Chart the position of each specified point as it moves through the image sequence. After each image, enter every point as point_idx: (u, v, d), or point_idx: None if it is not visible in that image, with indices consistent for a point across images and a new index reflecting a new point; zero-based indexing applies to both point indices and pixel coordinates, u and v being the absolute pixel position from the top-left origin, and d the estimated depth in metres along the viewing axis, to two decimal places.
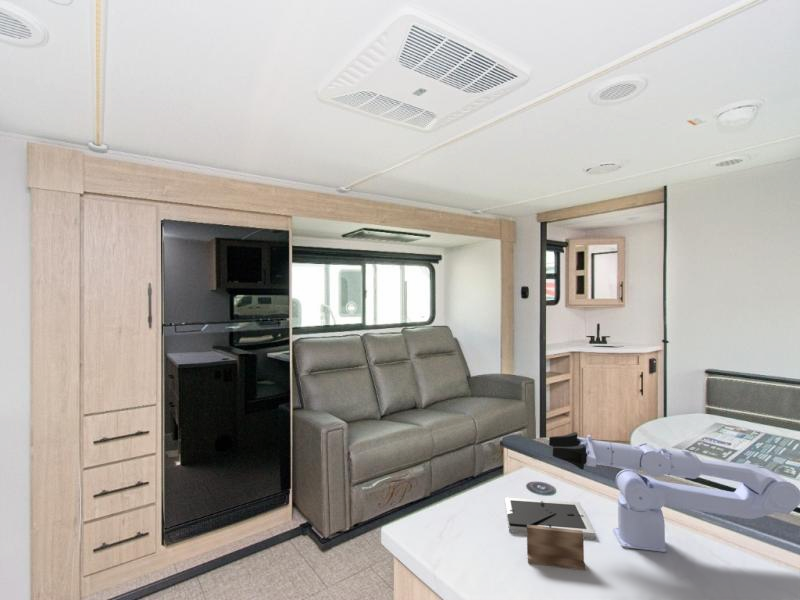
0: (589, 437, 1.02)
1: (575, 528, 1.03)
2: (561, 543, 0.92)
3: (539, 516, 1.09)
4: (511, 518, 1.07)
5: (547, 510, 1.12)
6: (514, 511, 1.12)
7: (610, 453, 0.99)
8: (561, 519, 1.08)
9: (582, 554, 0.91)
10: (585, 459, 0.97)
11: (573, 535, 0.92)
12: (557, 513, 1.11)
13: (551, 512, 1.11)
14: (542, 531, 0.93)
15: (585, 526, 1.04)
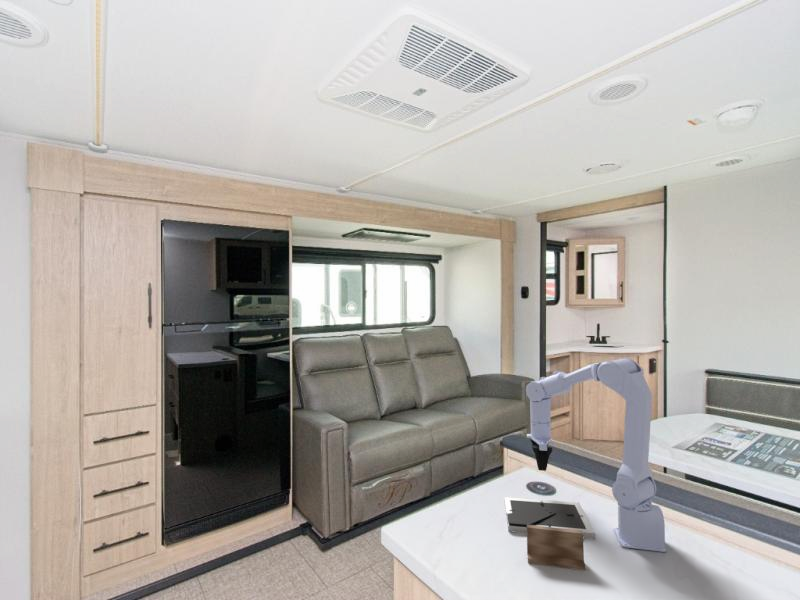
0: (527, 437, 1.23)
1: (575, 528, 1.03)
2: (561, 543, 0.92)
3: (539, 515, 1.09)
4: (511, 518, 1.07)
5: (547, 510, 1.12)
6: (514, 511, 1.12)
7: (537, 424, 1.20)
8: (560, 519, 1.08)
9: (582, 554, 0.91)
10: None
11: (573, 535, 0.92)
12: (557, 513, 1.11)
13: (551, 512, 1.11)
14: (542, 531, 0.93)
15: (585, 526, 1.04)
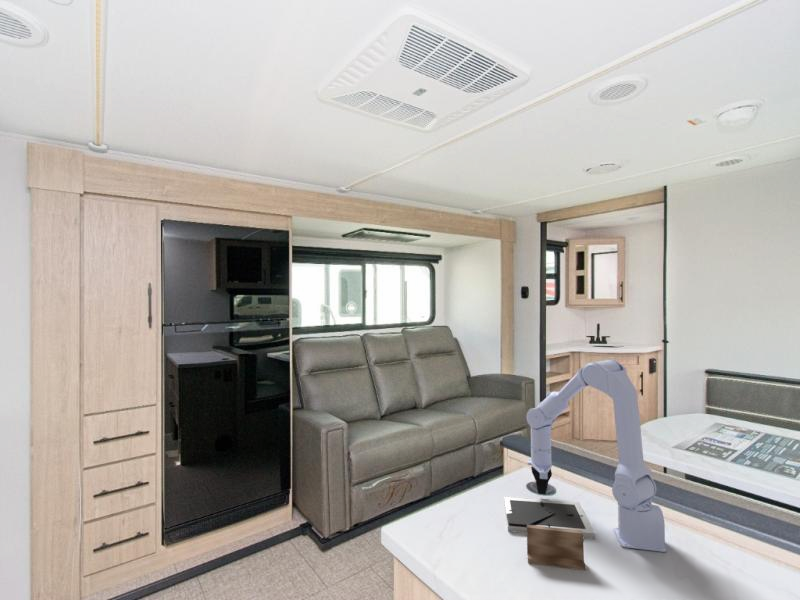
0: (528, 463, 1.22)
1: (574, 528, 1.03)
2: (561, 543, 0.92)
3: (538, 515, 1.09)
4: (510, 518, 1.07)
5: (546, 510, 1.12)
6: (513, 511, 1.12)
7: (537, 451, 1.20)
8: (560, 519, 1.08)
9: (582, 554, 0.91)
10: None
11: (573, 535, 0.92)
12: (556, 513, 1.11)
13: (550, 512, 1.11)
14: (542, 531, 0.93)
15: (584, 526, 1.04)
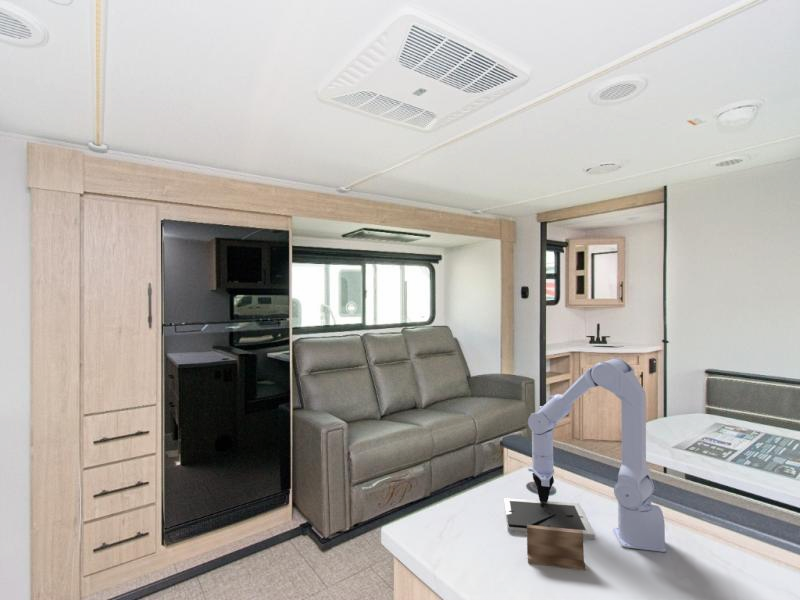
0: (529, 470, 1.18)
1: (574, 529, 1.03)
2: (561, 543, 0.92)
3: (538, 516, 1.09)
4: (510, 519, 1.07)
5: (546, 511, 1.11)
6: (513, 512, 1.12)
7: (539, 457, 1.16)
8: (560, 520, 1.07)
9: (582, 554, 0.91)
10: None
11: (573, 535, 0.92)
12: (556, 514, 1.10)
13: (550, 513, 1.10)
14: (542, 531, 0.93)
15: (584, 527, 1.04)
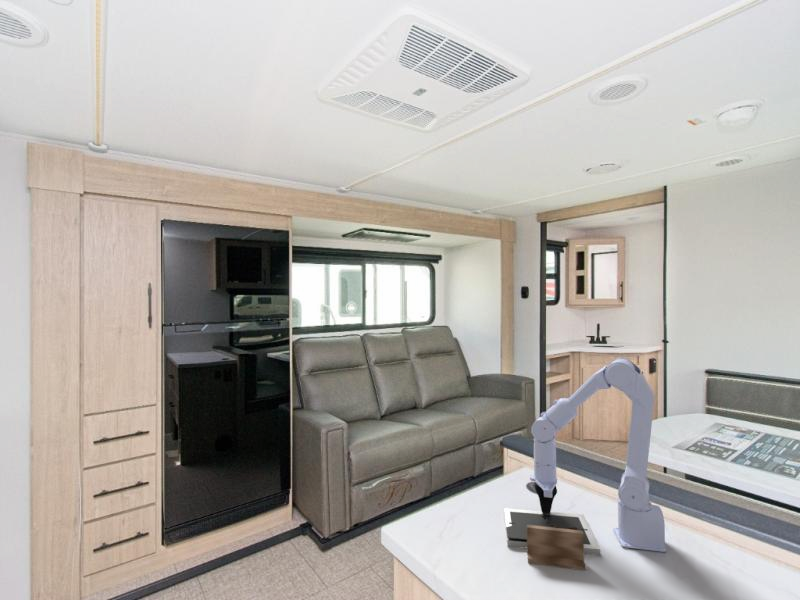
0: (531, 479, 1.12)
1: None
2: (561, 543, 0.92)
3: None
4: (510, 532, 1.01)
5: (549, 523, 1.05)
6: (513, 524, 1.06)
7: (541, 466, 1.09)
8: None
9: (582, 554, 0.91)
10: None
11: (573, 535, 0.92)
12: (559, 526, 1.04)
13: (553, 525, 1.04)
14: (542, 531, 0.93)
15: (589, 542, 0.97)
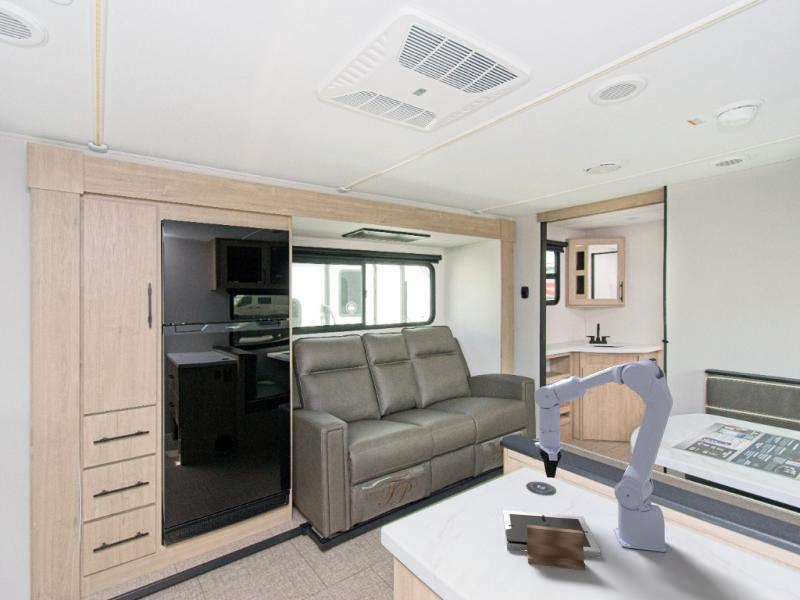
0: (536, 445, 1.16)
1: None
2: (561, 543, 0.92)
3: None
4: (510, 534, 1.00)
5: (548, 525, 1.04)
6: (513, 526, 1.05)
7: (546, 431, 1.13)
8: None
9: (582, 554, 0.91)
10: None
11: (573, 535, 0.92)
12: None
13: (553, 527, 1.03)
14: (542, 531, 0.93)
15: (589, 544, 0.96)
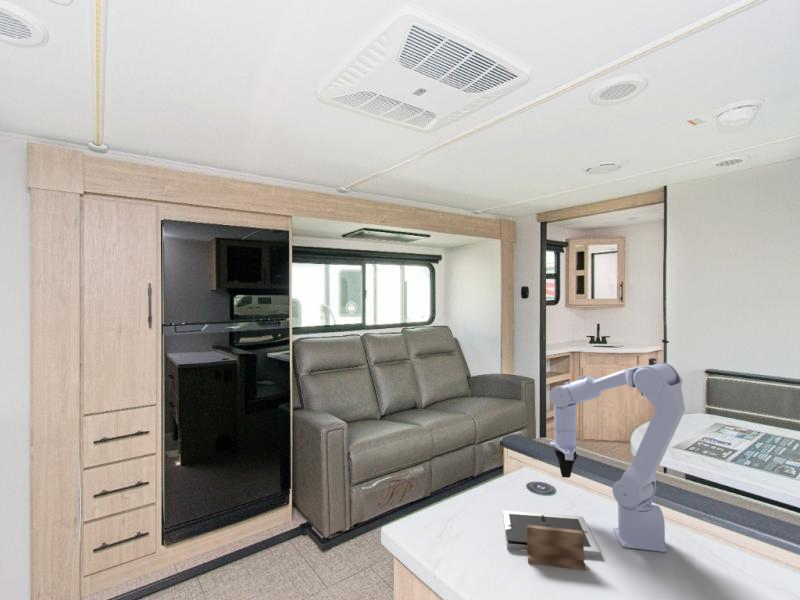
0: (551, 445, 1.15)
1: None
2: (561, 543, 0.92)
3: None
4: (509, 534, 1.00)
5: (548, 525, 1.04)
6: (513, 526, 1.05)
7: (562, 431, 1.13)
8: None
9: (582, 554, 0.91)
10: None
11: (573, 535, 0.92)
12: None
13: None
14: (542, 531, 0.93)
15: (589, 544, 0.96)
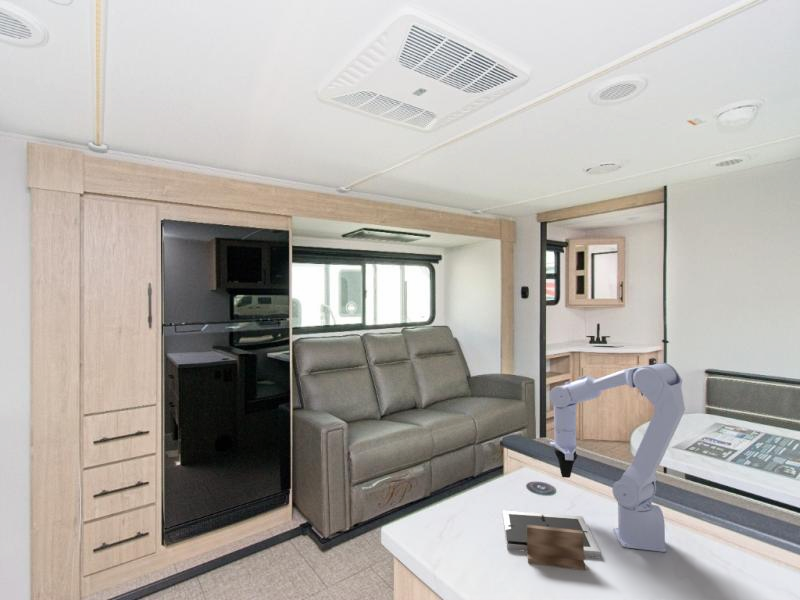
0: (551, 445, 1.15)
1: None
2: (561, 543, 0.92)
3: None
4: (509, 535, 1.00)
5: (548, 525, 1.04)
6: (513, 526, 1.04)
7: (562, 431, 1.13)
8: None
9: (582, 554, 0.91)
10: None
11: (573, 535, 0.92)
12: None
13: None
14: (542, 531, 0.93)
15: (589, 544, 0.96)
